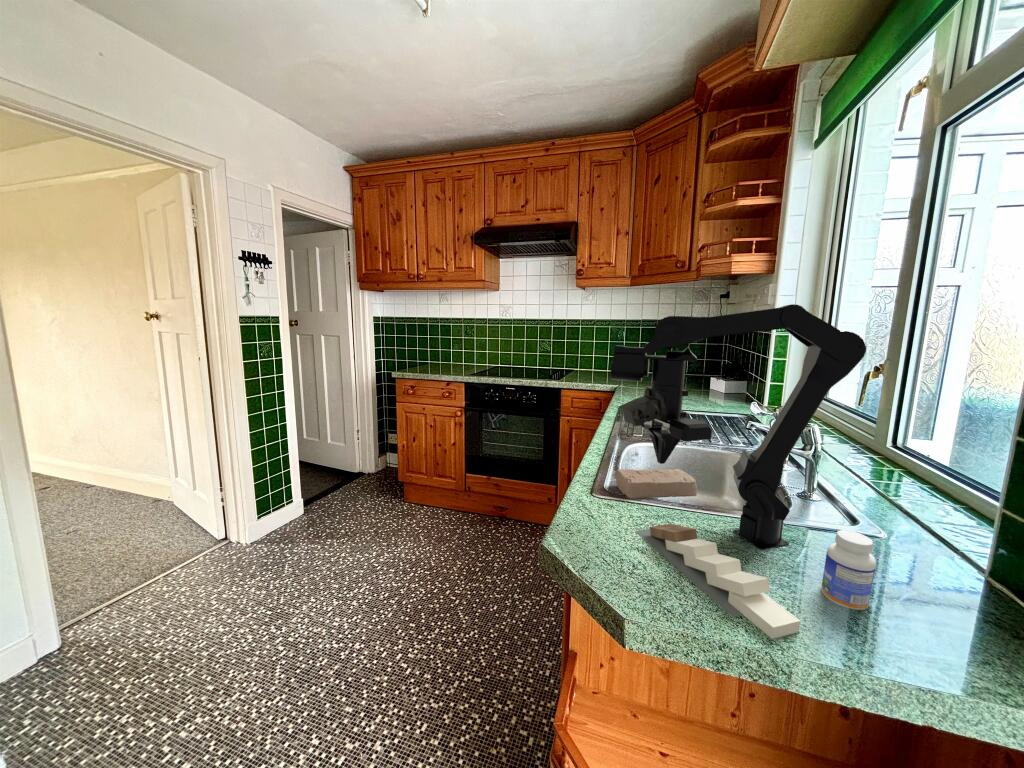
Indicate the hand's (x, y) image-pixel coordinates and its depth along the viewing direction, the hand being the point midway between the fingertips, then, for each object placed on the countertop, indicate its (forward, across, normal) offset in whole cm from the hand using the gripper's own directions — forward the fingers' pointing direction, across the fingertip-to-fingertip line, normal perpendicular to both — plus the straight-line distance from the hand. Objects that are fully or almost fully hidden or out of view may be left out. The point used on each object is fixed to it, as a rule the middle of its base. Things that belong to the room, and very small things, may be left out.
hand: (661, 463), depth 79 cm
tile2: (+11, +10, -3) cm, 15 cm away
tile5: (+11, +23, -3) cm, 26 cm away
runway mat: (+12, +14, -3) cm, 19 cm away
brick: (+12, -12, +8) cm, 19 cm away
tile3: (+11, +14, -3) cm, 18 cm away
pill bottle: (+12, +27, +12) cm, 32 cm away
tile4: (+11, +19, -3) cm, 22 cm away
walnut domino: (+11, +5, -3) cm, 12 cm away
